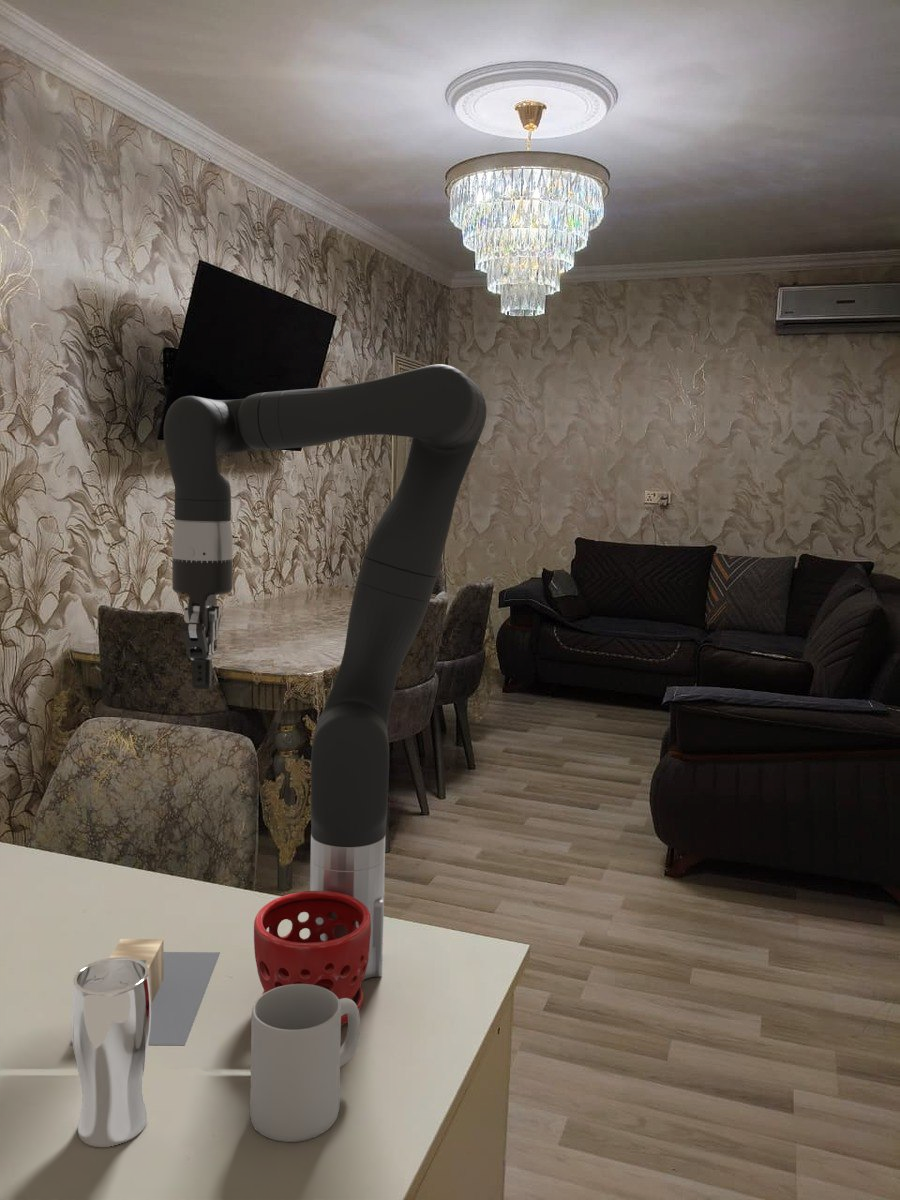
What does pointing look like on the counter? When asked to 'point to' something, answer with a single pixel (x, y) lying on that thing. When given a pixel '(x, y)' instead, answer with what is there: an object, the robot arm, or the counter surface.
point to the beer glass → (111, 1048)
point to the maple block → (144, 958)
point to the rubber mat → (179, 995)
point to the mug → (298, 1060)
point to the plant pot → (314, 944)
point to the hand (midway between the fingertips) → (202, 687)
